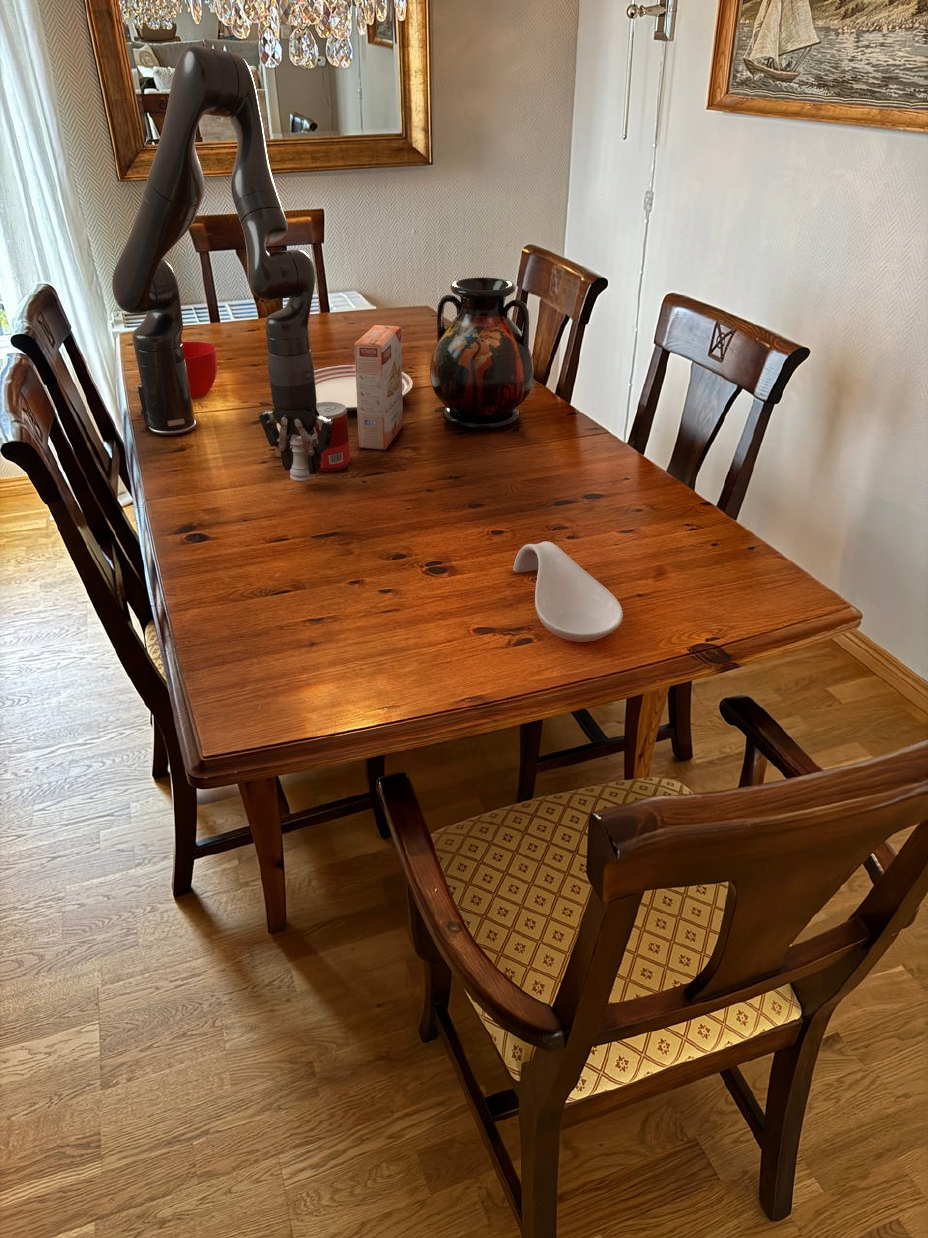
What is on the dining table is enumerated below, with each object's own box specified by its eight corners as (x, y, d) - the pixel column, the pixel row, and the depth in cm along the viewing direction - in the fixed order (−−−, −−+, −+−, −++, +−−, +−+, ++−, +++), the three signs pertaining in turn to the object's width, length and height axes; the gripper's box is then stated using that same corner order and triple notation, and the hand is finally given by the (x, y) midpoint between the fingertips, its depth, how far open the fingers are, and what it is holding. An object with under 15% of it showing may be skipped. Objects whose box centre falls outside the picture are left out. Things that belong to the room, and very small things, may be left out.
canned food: (357, 459, 173) (353, 404, 167) (339, 475, 167) (334, 418, 161) (321, 453, 175) (316, 399, 169) (302, 469, 169) (296, 413, 163)
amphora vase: (417, 433, 185) (413, 292, 170) (447, 399, 202) (446, 268, 187) (519, 444, 180) (525, 300, 165) (540, 408, 198) (547, 275, 182)
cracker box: (387, 451, 177) (382, 345, 165) (358, 449, 178) (351, 342, 166) (405, 426, 188) (402, 325, 177) (377, 424, 189) (372, 323, 178)
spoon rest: (636, 644, 121) (642, 599, 117) (557, 662, 117) (560, 616, 113) (559, 563, 139) (562, 522, 135) (489, 576, 136) (490, 534, 132)
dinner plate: (384, 425, 189) (383, 410, 187) (269, 410, 196) (267, 395, 194) (430, 385, 210) (430, 371, 209) (324, 373, 218) (323, 359, 216)
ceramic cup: (237, 380, 213) (231, 338, 207) (208, 404, 199) (201, 359, 193) (186, 377, 214) (179, 335, 209) (153, 401, 200) (145, 356, 195)
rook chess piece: (291, 473, 163) (286, 431, 159) (315, 472, 164) (311, 430, 159) (289, 483, 160) (284, 441, 155) (314, 482, 160) (310, 440, 156)
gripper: (340, 374, 153) (346, 468, 162) (265, 366, 156) (276, 457, 166) (320, 388, 147) (328, 484, 156) (243, 378, 151) (256, 473, 160)
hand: (301, 470), depth 161 cm, fingers closed on rook chess piece, 4 cm apart
